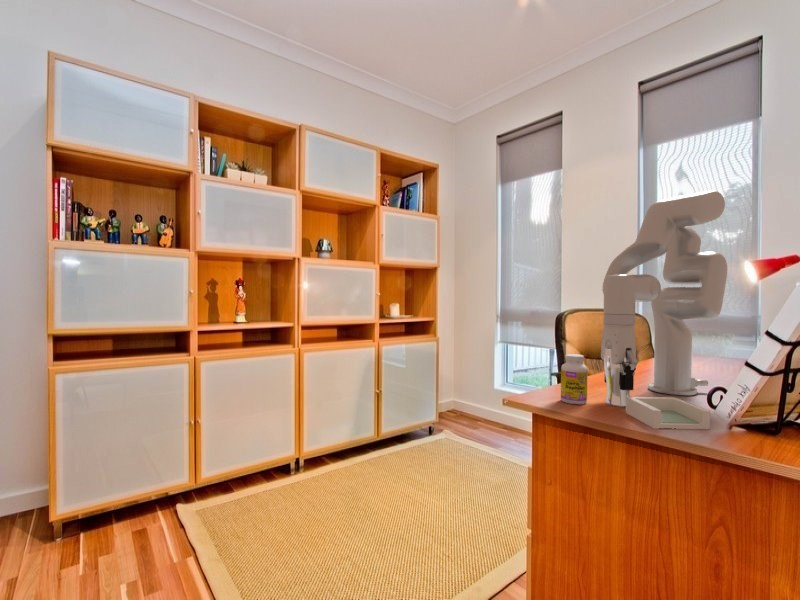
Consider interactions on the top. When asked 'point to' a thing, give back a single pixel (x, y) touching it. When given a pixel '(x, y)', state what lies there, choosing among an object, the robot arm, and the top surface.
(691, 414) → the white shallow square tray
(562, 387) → the supplement bottle
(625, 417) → the top surface
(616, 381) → the beer glass
